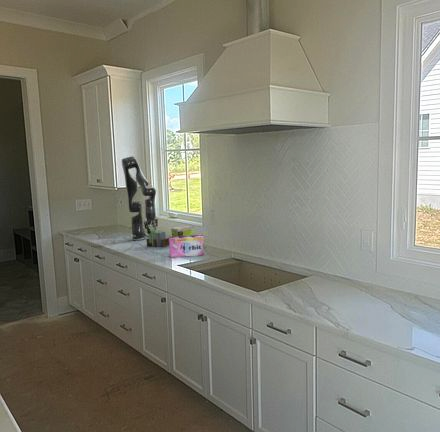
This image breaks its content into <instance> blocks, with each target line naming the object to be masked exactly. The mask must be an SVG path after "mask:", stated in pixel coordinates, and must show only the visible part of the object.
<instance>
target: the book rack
mask: <svg viewBox="0 0 440 432" xmlns="http://www.w3.org/2000/svg"><path fill="white" fill-rule="evenodd" d="M145 239H146V247H147V248H158V247H157V243H156V239H154V246H152V243H149V237H147V238H145ZM165 247H170V245H169V237H166V239H163V240H162V247H161V249H163V248H165Z"/></svg>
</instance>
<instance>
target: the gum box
mask: <svg viewBox="0 0 440 432" xmlns="http://www.w3.org/2000/svg"><path fill="white" fill-rule="evenodd" d="M168 238H169V257H170V258H180V257H182V258H183V257H197V256H203V255H204V254H203V253H204V252H203V248H204V243H203V242H204V240H205V238H204V236H203V234H194V235H192V236H176V237H172V236H169V237H168Z"/></svg>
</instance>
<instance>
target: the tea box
mask: <svg viewBox="0 0 440 432" xmlns="http://www.w3.org/2000/svg"><path fill="white" fill-rule="evenodd" d="M170 231H171V237H176V236H192V235H195V227H194V226H190V225H183V226H177V227H172V228H171V229H170Z"/></svg>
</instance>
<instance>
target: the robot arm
mask: <svg viewBox="0 0 440 432" xmlns="http://www.w3.org/2000/svg"><path fill="white" fill-rule="evenodd" d="M121 167H122V170H123V175H124V182H125V189H126V195H127V205H128V206H127V207H128V211H129V212H130V213H137V214H135V215H134V216H131V217H130V219H131V220H130V221H131V233H132V236H131V237H132V241H143V240H145V239H146V238H149V234H150V228H151V227H155V230H157V227H158V225H159V224H158V223H159V222H158V221H159V219H158V218H157V217H156V216H157V215H156V207H155V205H156V203H155V200H156V194H157V189H156V187H154V186H149V185H150V183H149V181H148V179H147V178H146V176H145V175H144V173H143V171H142V169H141V166H140V164H139V162H138V160H137V158H136V157H135V156H132V155H131V156H127V157H124V158H122V159H121ZM134 168H135V177H134V176H133V175H132V174H131V173H130V171H129V170H131V169H134ZM139 189H140V191H141V194H142V196H144V197H148V198H146V199H145V200H144V215H145V219H146V220H143V219H144V218H143V204H142V201H133V199H134V198H135V196H136V194H137V193H138V191H139ZM145 229H146V232H145ZM146 233H147V234H148V235H147V234H146Z"/></svg>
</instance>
